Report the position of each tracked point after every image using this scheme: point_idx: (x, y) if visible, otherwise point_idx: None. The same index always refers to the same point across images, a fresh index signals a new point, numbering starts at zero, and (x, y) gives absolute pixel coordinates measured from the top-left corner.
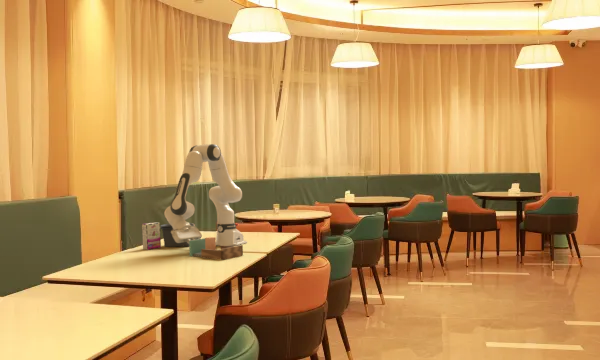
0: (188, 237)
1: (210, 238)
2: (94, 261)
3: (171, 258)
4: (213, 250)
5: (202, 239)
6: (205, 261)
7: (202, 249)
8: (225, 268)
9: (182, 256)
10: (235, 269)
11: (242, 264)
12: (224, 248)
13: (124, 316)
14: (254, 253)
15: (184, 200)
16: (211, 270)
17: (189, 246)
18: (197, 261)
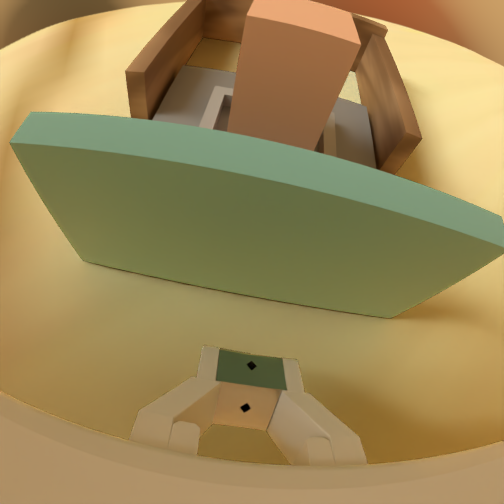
0: (381, 475)
1: (347, 14)
2: None
3: (498, 391)
4: (395, 65)
5: (245, 141)
6: (443, 125)
7: (417, 130)
8: (457, 59)
9: (410, 391)
10: (445, 43)
11: (388, 26)
12: (360, 18)
13: None
14: (113, 24)
15: None
16: (494, 86)
17: (456, 281)
18: (468, 160)
